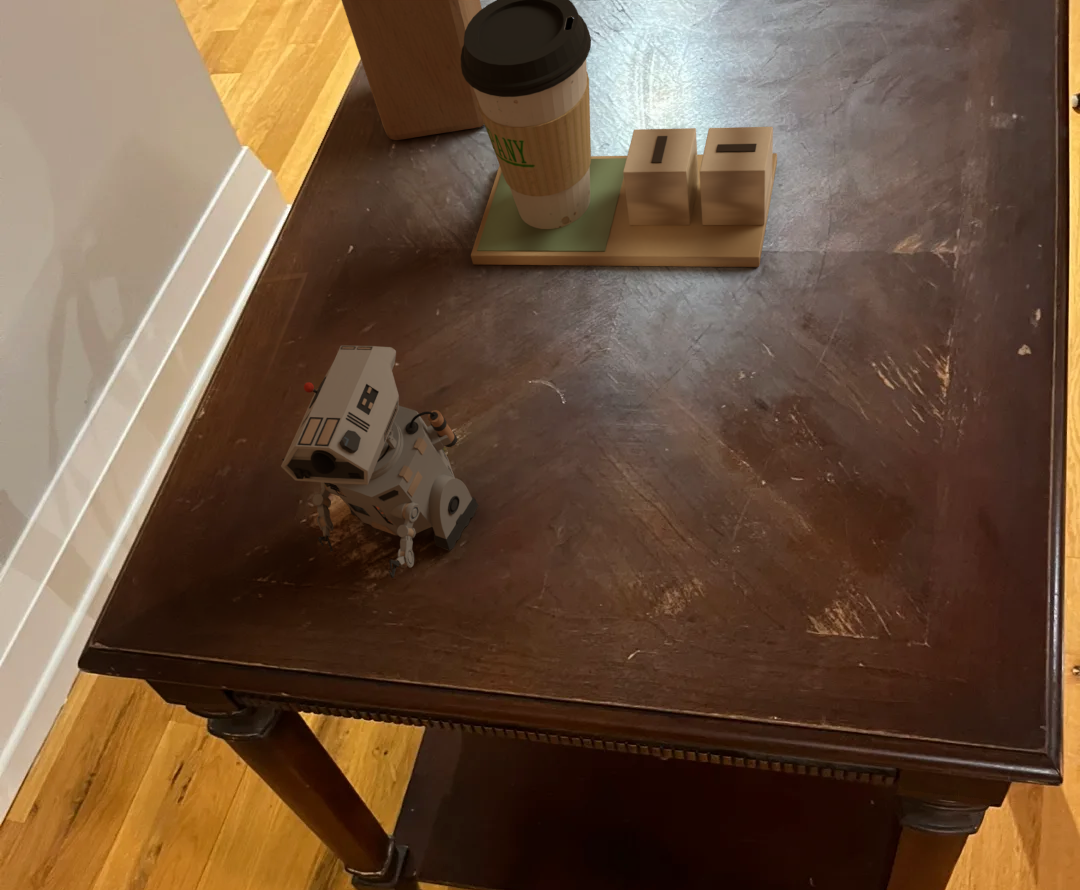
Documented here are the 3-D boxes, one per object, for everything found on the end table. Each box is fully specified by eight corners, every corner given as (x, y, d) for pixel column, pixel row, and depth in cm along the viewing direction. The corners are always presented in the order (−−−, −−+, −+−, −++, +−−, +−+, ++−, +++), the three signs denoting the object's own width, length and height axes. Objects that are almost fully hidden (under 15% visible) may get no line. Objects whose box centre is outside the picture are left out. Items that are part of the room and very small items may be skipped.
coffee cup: (507, 166, 96) (467, -10, 82) (618, 160, 93) (596, -21, 80) (488, 246, 91) (443, 76, 78) (603, 242, 89) (577, 66, 76)
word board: (777, 163, 91) (778, 94, 86) (759, 267, 87) (759, 201, 81) (503, 167, 97) (489, 103, 92) (472, 264, 92) (455, 203, 87)
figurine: (313, 576, 81) (226, 444, 68) (392, 460, 84) (324, 312, 71) (414, 617, 78) (344, 486, 64) (492, 494, 81) (440, 346, 68)
